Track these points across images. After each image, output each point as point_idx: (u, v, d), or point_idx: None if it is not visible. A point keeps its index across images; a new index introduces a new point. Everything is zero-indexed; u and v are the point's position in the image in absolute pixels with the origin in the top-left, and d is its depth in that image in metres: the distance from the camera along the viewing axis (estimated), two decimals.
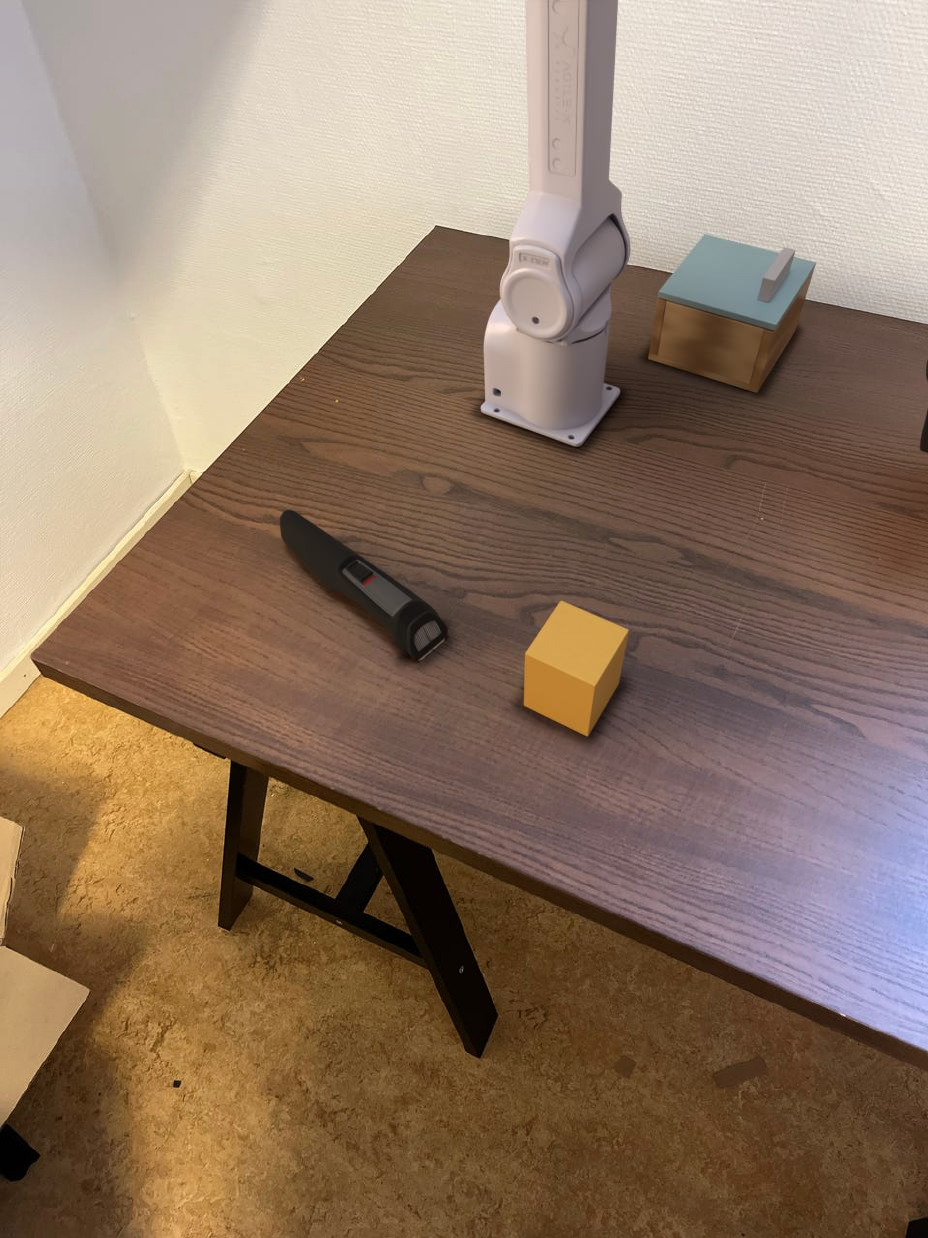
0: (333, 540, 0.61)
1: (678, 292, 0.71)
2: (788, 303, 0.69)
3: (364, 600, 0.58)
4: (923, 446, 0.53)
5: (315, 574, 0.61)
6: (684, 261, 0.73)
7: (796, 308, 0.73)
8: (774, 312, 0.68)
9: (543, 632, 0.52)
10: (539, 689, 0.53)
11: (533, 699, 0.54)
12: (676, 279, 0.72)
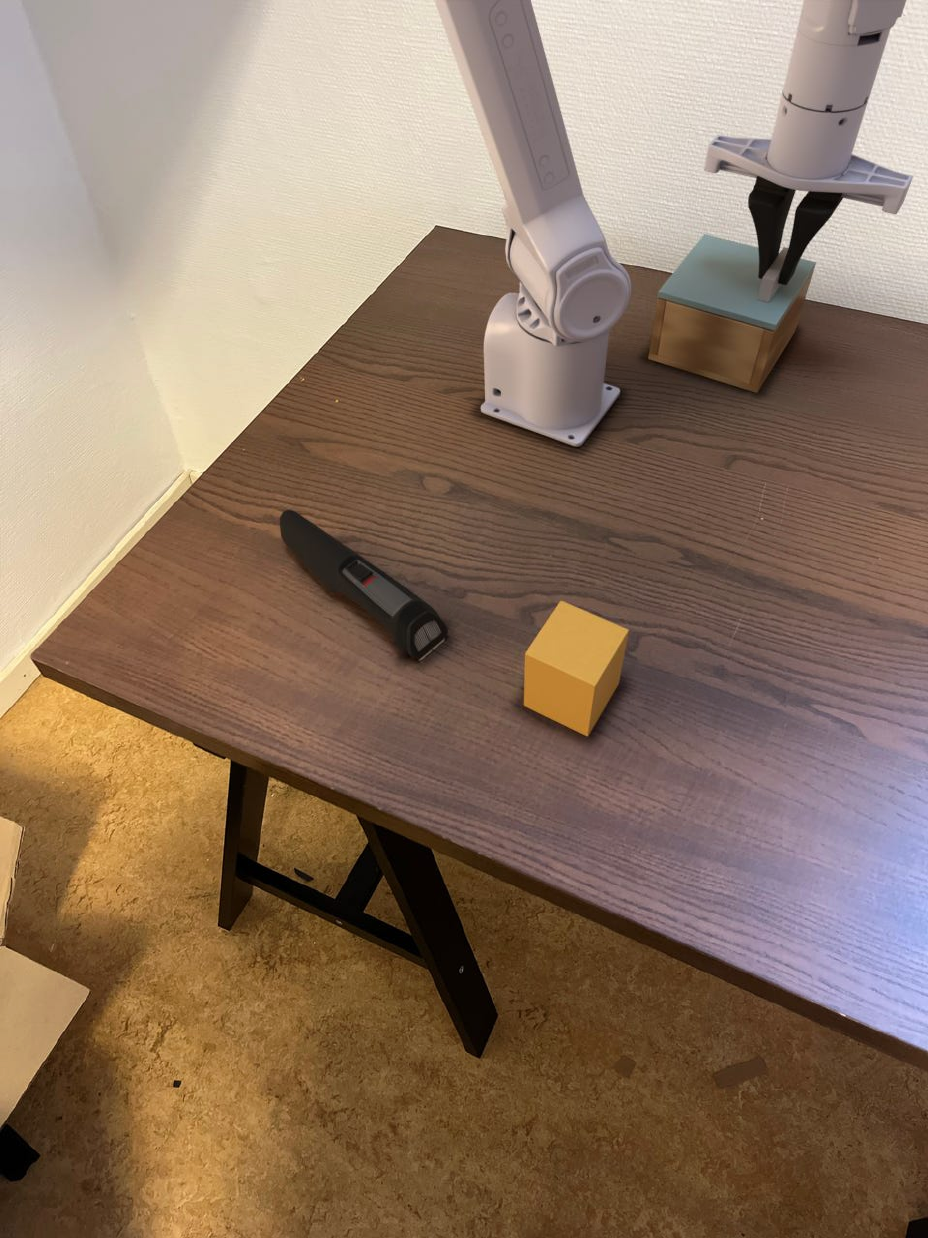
0: (333, 540, 0.61)
1: (678, 292, 0.71)
2: (788, 303, 0.69)
3: (364, 600, 0.58)
4: (787, 280, 0.69)
5: (315, 574, 0.61)
6: (684, 261, 0.73)
7: (796, 308, 0.73)
8: (774, 311, 0.68)
9: (543, 632, 0.52)
10: (539, 689, 0.53)
11: (533, 699, 0.54)
12: (675, 279, 0.72)
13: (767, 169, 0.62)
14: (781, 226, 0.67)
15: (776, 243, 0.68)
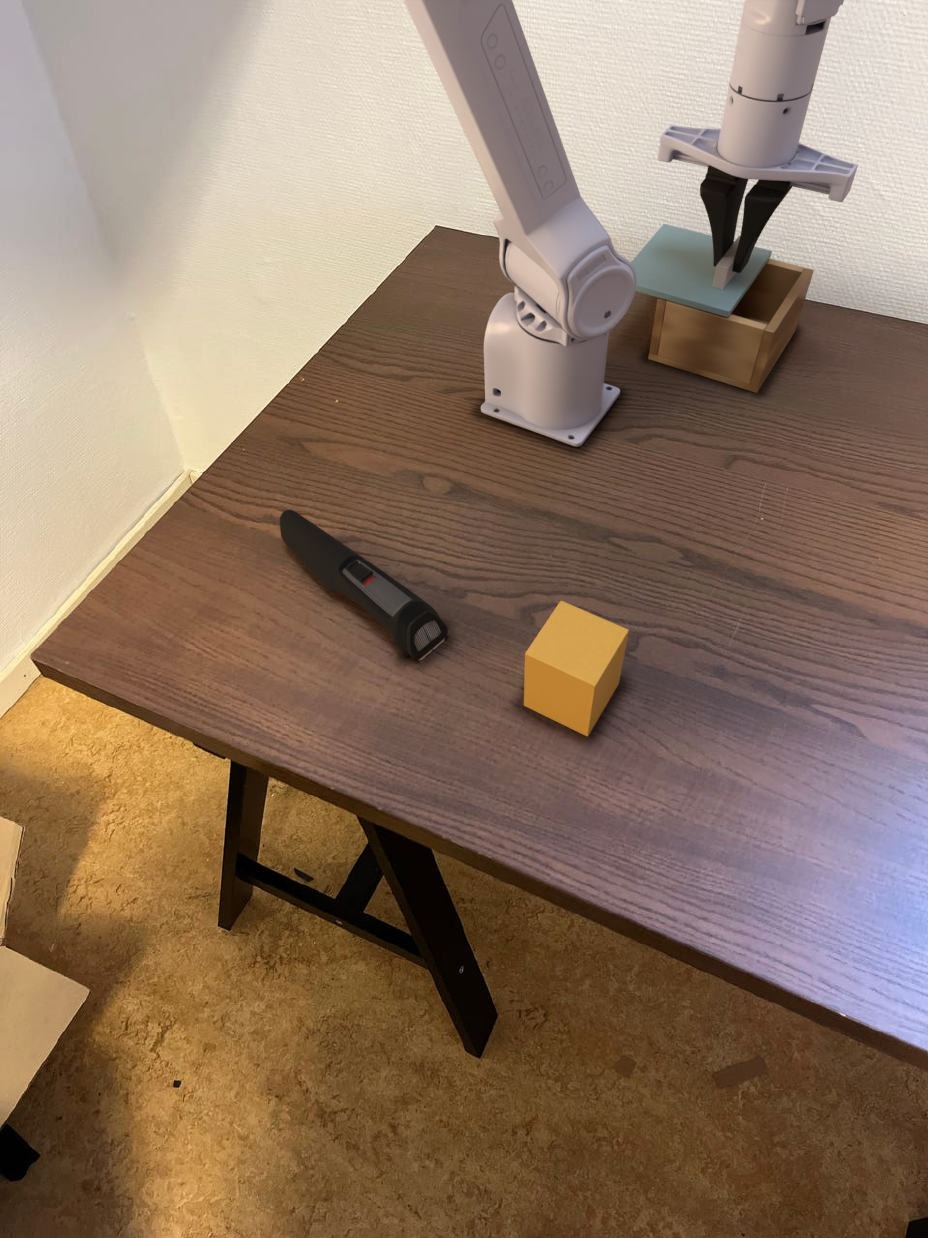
0: (333, 540, 0.61)
1: None
2: (742, 290, 0.70)
3: (364, 600, 0.58)
4: (741, 268, 0.70)
5: (315, 574, 0.61)
6: (642, 250, 0.75)
7: (796, 308, 0.73)
8: (728, 299, 0.70)
9: (543, 632, 0.52)
10: (539, 689, 0.53)
11: (533, 699, 0.54)
12: None
13: (716, 158, 0.63)
14: (734, 215, 0.69)
15: (730, 231, 0.69)
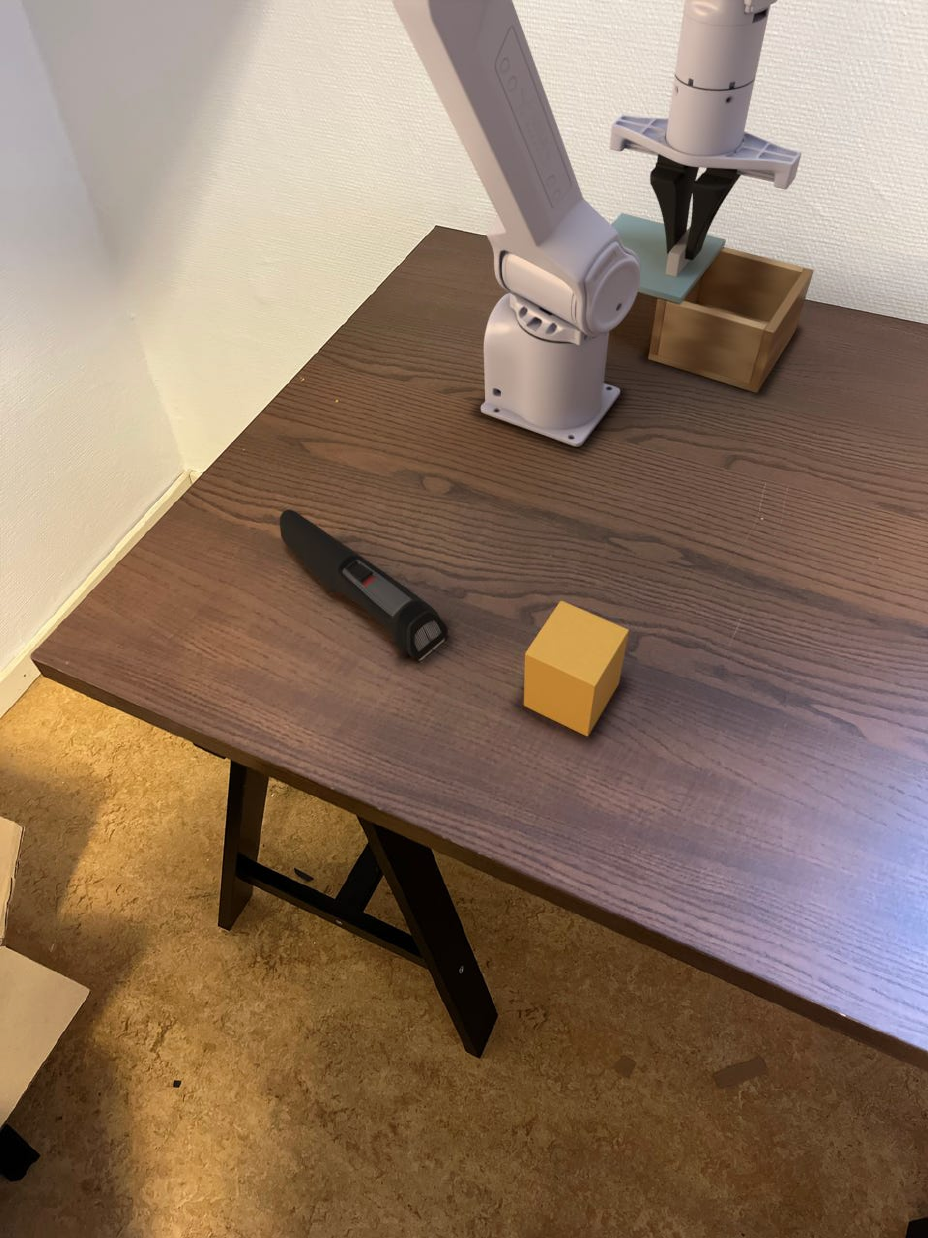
0: (333, 540, 0.61)
1: None
2: (694, 277, 0.72)
3: (364, 600, 0.58)
4: (694, 255, 0.71)
5: (315, 574, 0.61)
6: None
7: (796, 308, 0.73)
8: (681, 285, 0.71)
9: (543, 632, 0.52)
10: (539, 689, 0.53)
11: (533, 699, 0.54)
12: None
13: (664, 146, 0.65)
14: (686, 203, 0.70)
15: (682, 219, 0.71)
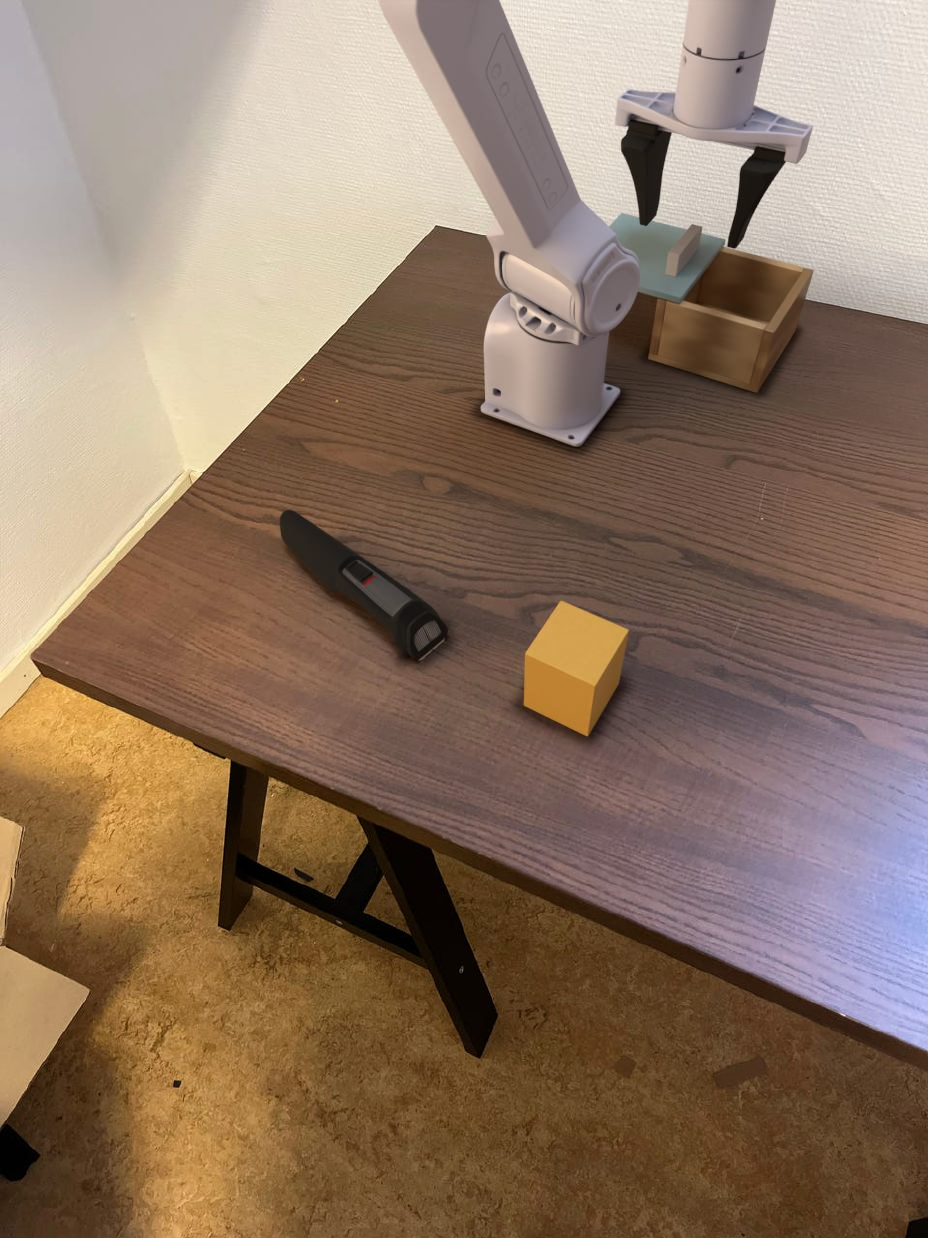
0: (333, 540, 0.61)
1: None
2: (694, 277, 0.72)
3: (364, 600, 0.58)
4: (736, 243, 0.69)
5: (315, 574, 0.61)
6: None
7: (796, 308, 0.73)
8: (680, 285, 0.71)
9: (543, 632, 0.52)
10: (539, 689, 0.53)
11: (533, 699, 0.54)
12: None
13: (672, 119, 0.63)
14: (658, 172, 0.69)
15: (654, 189, 0.70)
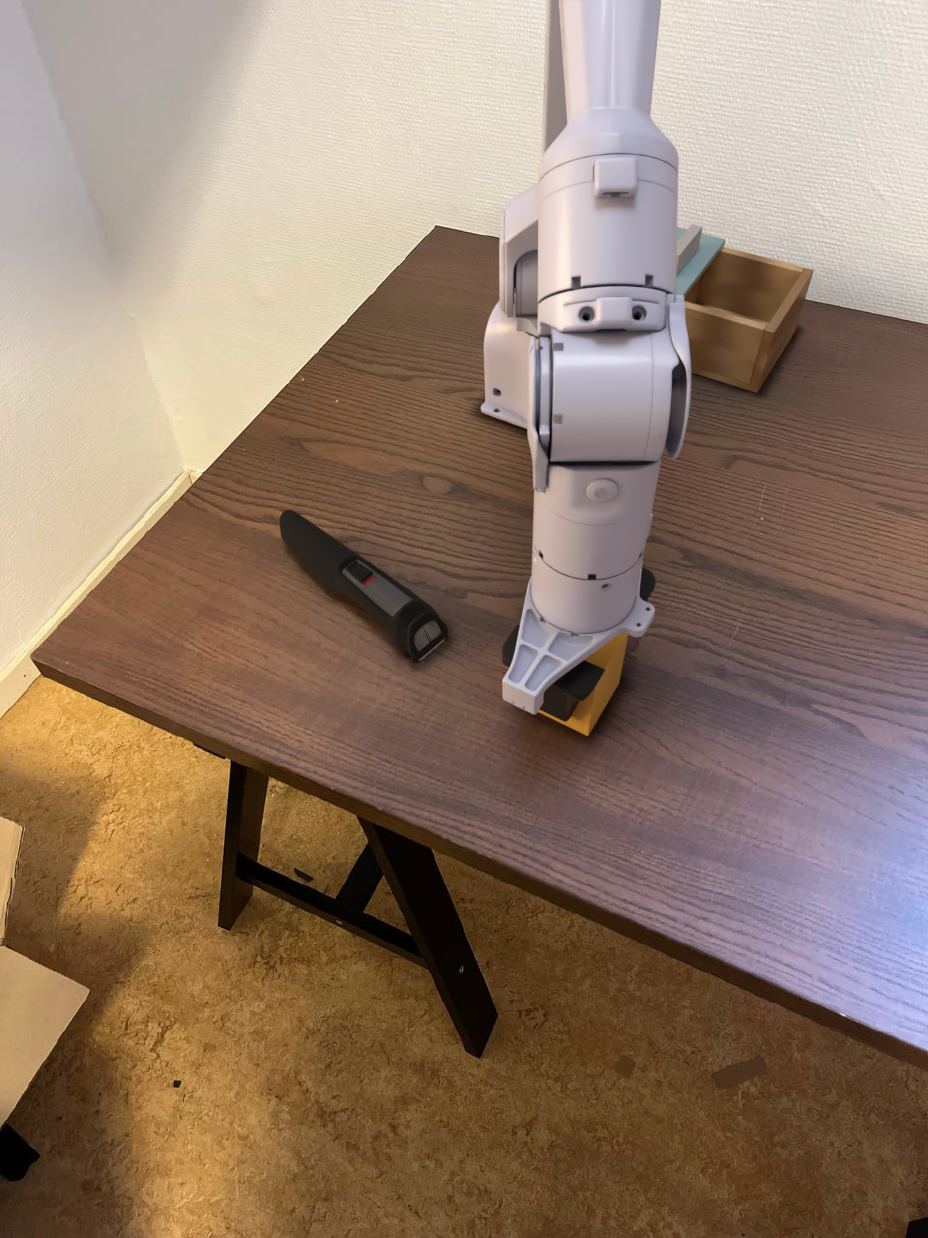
0: (333, 540, 0.61)
1: None
2: (694, 277, 0.72)
3: (364, 600, 0.58)
4: None
5: (315, 574, 0.61)
6: None
7: (796, 308, 0.73)
8: (680, 285, 0.71)
9: None
10: None
11: None
12: None
13: None
14: None
15: None
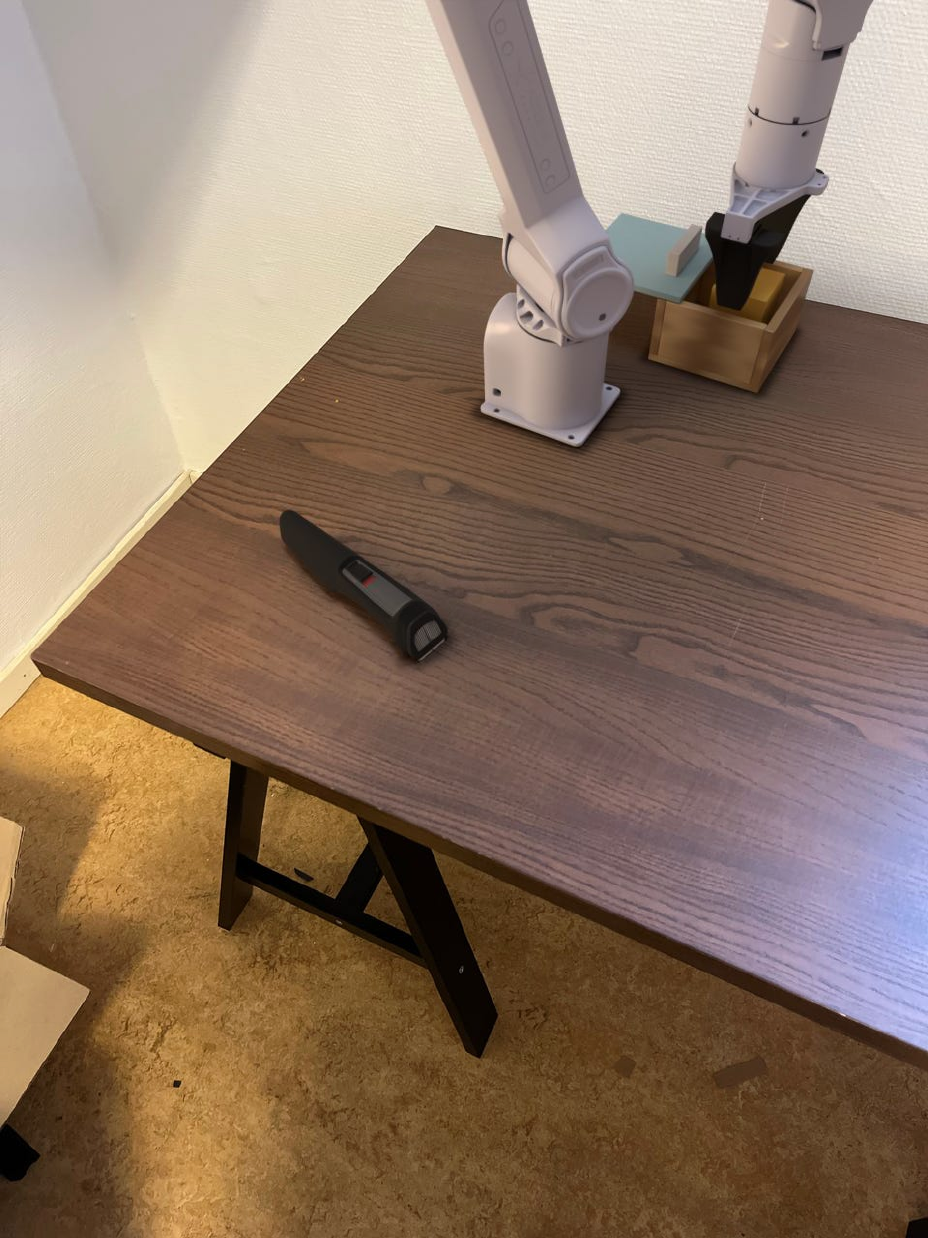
0: (333, 540, 0.61)
1: None
2: (694, 277, 0.72)
3: (364, 600, 0.58)
4: (718, 300, 0.69)
5: (315, 574, 0.61)
6: None
7: (796, 308, 0.73)
8: (680, 285, 0.71)
9: None
10: None
11: None
12: None
13: None
14: (778, 219, 0.70)
15: None
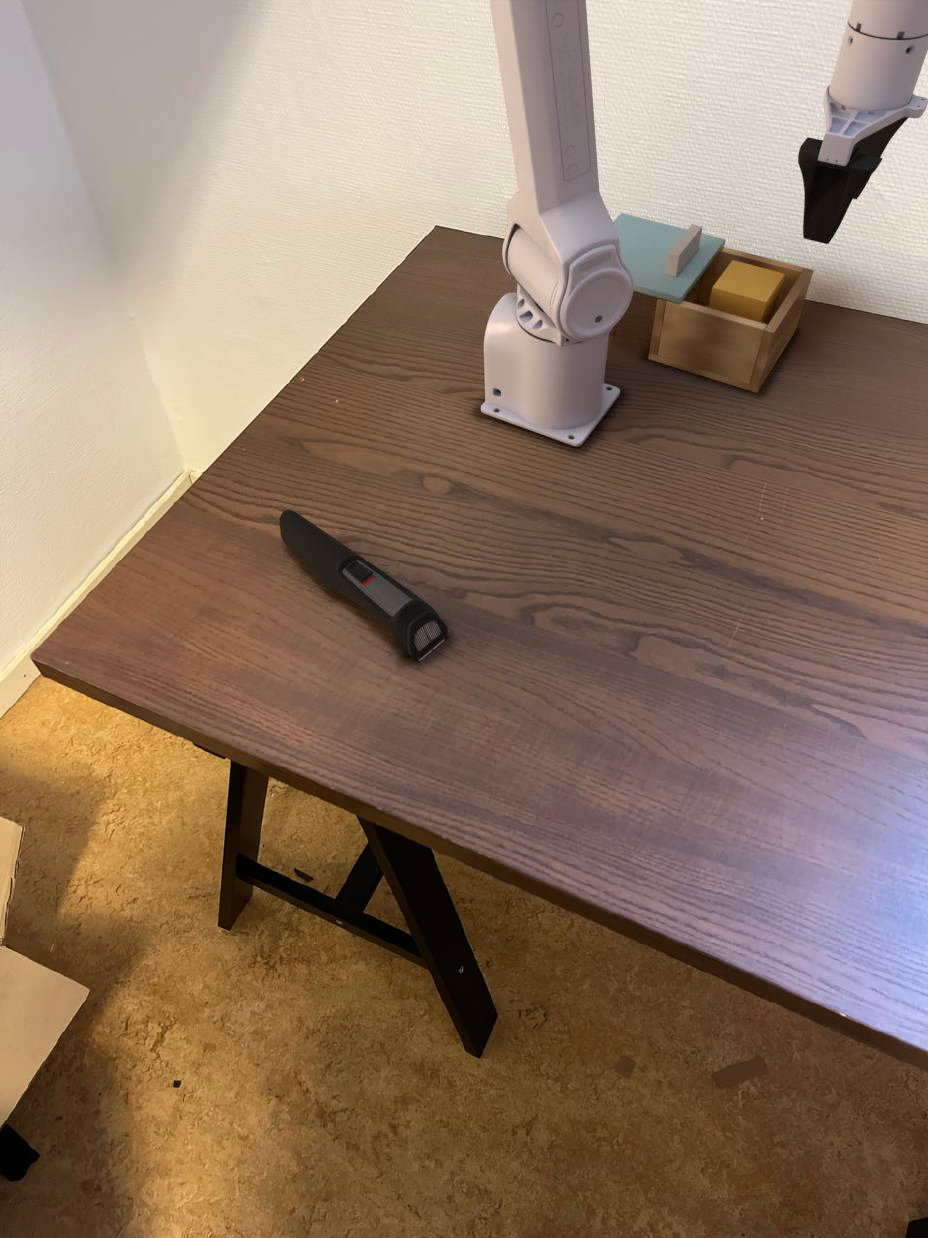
0: (333, 540, 0.61)
1: None
2: (694, 277, 0.72)
3: (364, 600, 0.58)
4: (805, 233, 0.68)
5: (315, 574, 0.61)
6: None
7: (796, 308, 0.73)
8: (680, 285, 0.71)
9: (723, 276, 0.72)
10: None
11: None
12: None
13: None
14: (866, 150, 0.68)
15: None
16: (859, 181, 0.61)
